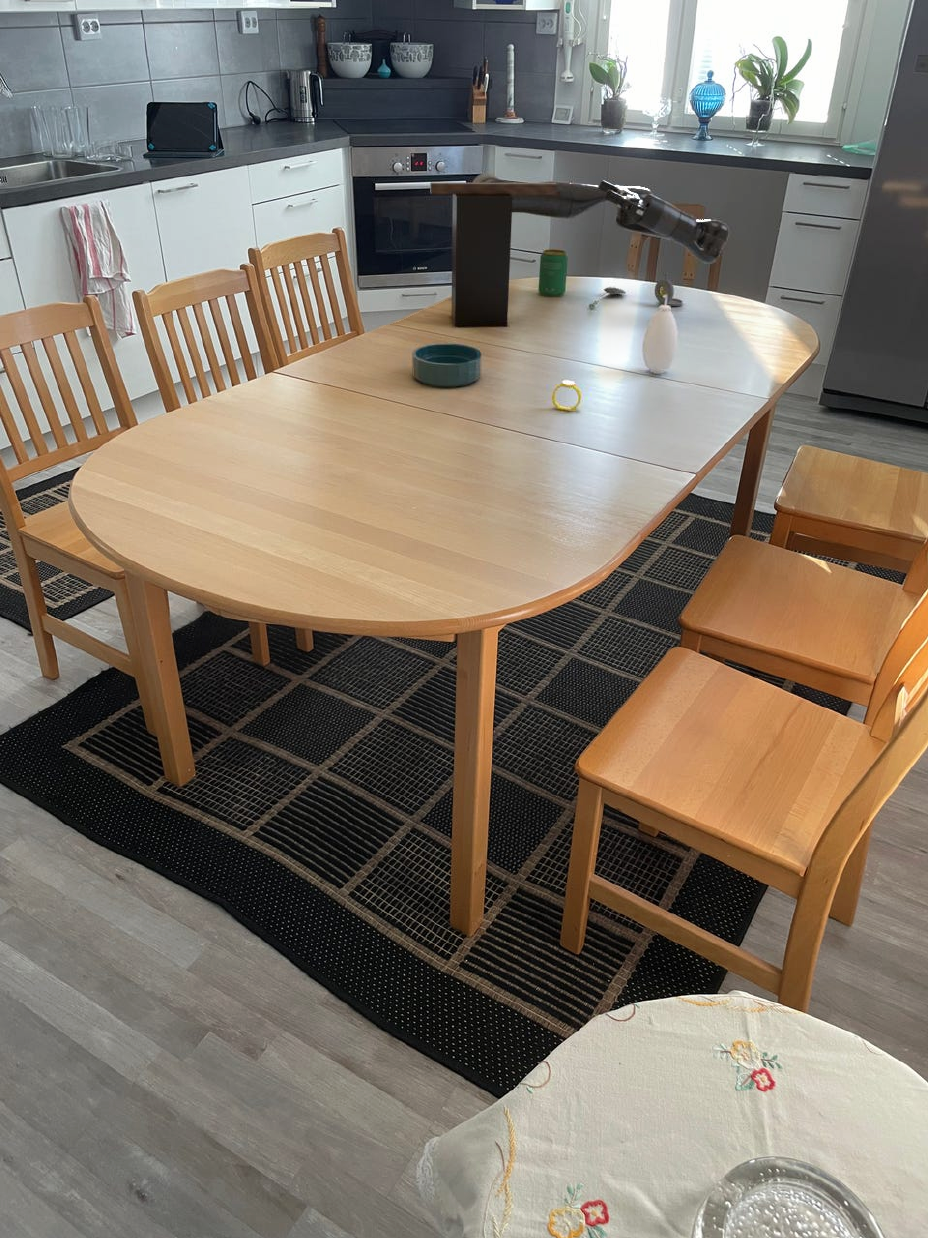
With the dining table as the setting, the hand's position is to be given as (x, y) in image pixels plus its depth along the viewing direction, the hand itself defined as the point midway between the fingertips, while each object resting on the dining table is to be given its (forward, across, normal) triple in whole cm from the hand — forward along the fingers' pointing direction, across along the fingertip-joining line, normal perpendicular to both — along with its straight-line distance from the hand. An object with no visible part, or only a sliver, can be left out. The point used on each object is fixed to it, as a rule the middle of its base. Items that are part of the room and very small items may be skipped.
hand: (603, 188), depth 237 cm
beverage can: (-8, +28, -37) cm, 47 cm away
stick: (+25, +2, -11) cm, 27 cm away
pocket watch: (-38, +17, -23) cm, 47 cm away
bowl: (+26, -48, -42) cm, 69 cm away
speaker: (+15, -2, -43) cm, 45 cm away
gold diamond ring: (+4, -69, -31) cm, 75 cm away
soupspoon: (-22, +20, -30) cm, 43 cm away
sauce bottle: (-20, -44, -23) cm, 54 cm away
